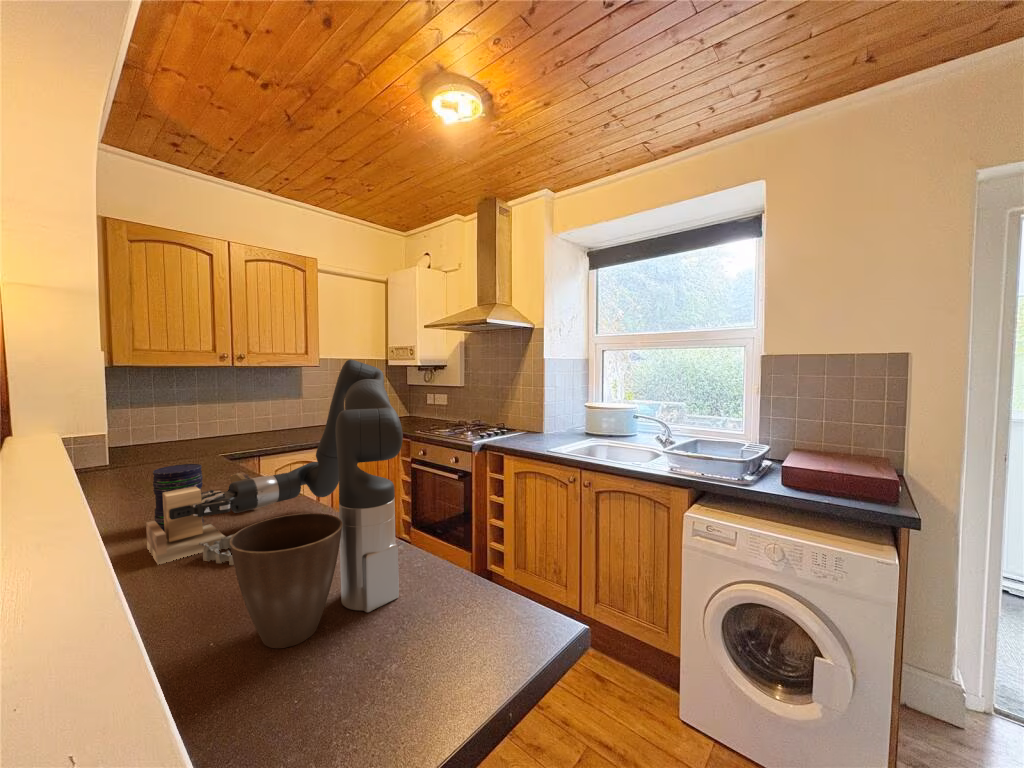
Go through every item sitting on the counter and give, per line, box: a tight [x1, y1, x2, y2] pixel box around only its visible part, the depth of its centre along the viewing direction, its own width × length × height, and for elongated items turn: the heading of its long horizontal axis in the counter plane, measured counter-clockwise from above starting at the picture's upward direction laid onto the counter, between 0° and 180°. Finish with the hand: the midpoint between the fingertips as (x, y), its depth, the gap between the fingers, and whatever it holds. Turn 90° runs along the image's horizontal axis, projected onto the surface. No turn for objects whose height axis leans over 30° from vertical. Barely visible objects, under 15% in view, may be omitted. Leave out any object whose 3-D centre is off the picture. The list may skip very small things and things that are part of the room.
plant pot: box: [229, 512, 342, 649], centre depth 63 cm, size 15×15×16 cm
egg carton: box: [199, 533, 235, 566], centre depth 89 cm, size 11×8×4 cm
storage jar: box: [152, 463, 204, 532], centre depth 106 cm, size 10×10×15 cm
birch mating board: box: [145, 519, 227, 566], centre depth 94 cm, size 12×12×6 cm
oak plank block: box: [163, 486, 204, 542], centre depth 93 cm, size 4×6×10 cm
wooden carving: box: [229, 472, 253, 484], centre depth 121 cm, size 16×5×10 cm, turn 58°
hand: (167, 511), depth 91 cm, fingers closed on oak plank block, 4 cm apart
